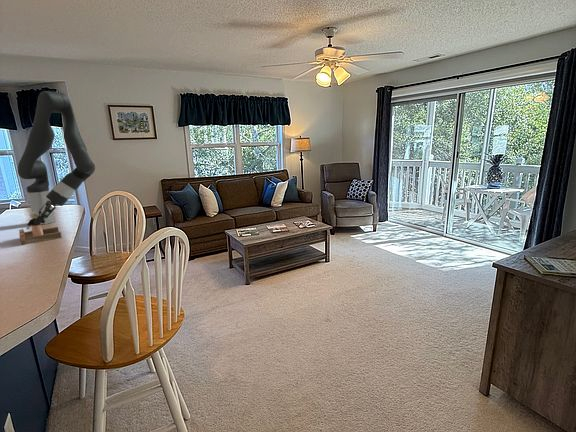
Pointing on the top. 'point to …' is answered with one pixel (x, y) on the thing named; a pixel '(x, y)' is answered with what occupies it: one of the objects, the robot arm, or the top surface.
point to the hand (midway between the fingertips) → (35, 222)
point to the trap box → (47, 235)
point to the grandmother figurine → (35, 228)
